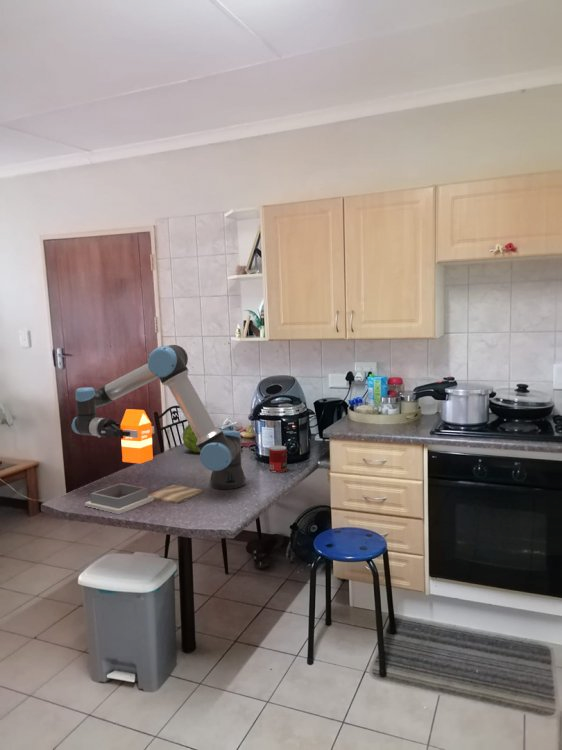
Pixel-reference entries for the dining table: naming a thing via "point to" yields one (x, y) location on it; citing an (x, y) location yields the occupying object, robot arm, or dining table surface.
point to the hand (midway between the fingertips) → (145, 432)
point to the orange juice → (141, 446)
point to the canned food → (278, 458)
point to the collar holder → (126, 502)
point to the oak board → (175, 493)
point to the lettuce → (190, 439)
